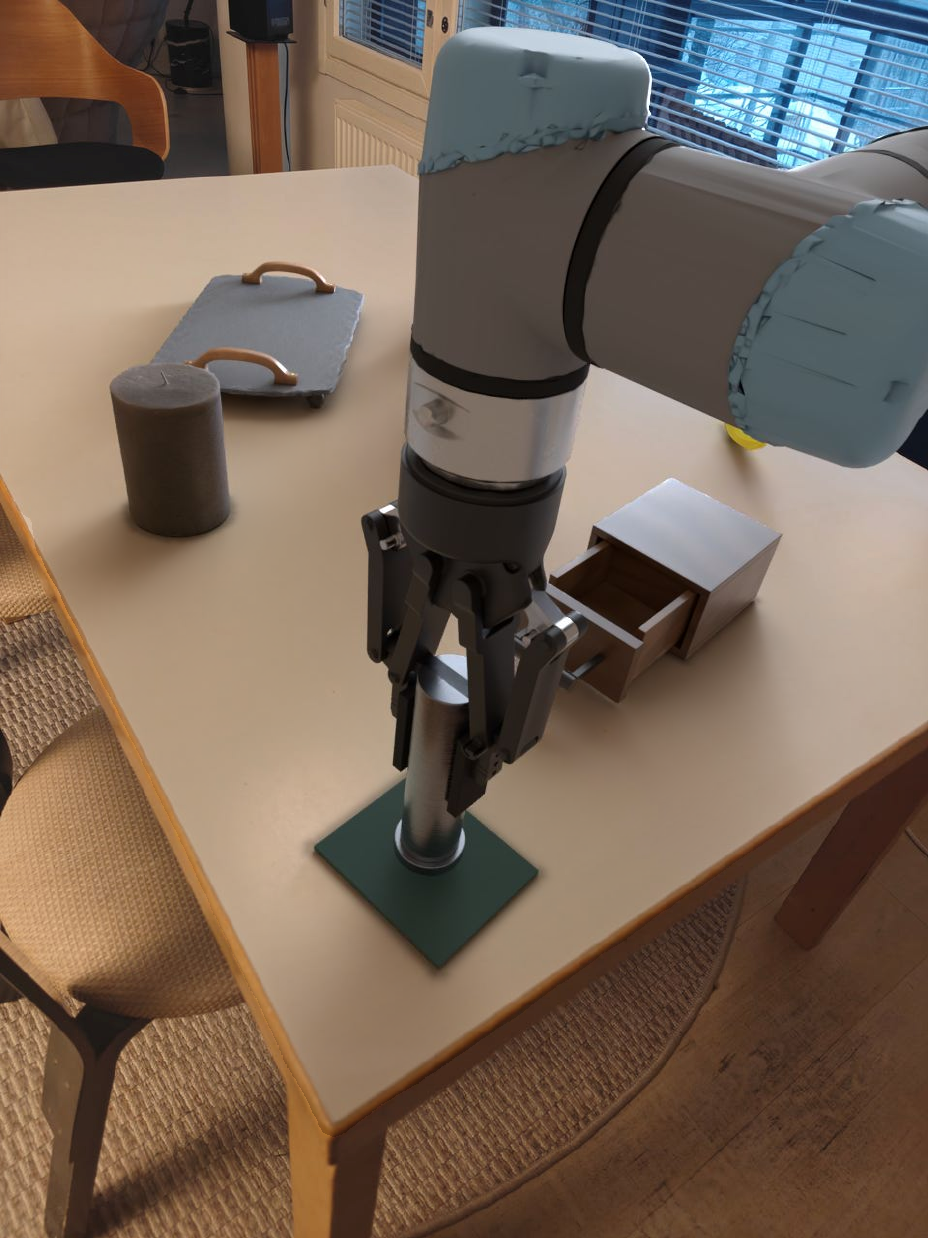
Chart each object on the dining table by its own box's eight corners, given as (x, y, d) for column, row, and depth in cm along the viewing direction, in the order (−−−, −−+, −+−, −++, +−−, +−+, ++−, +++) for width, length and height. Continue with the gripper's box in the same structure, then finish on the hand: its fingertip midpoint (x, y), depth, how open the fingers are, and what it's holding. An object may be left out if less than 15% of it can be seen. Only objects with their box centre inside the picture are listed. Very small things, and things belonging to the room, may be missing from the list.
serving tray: (219, 286, 132) (216, 244, 128) (369, 304, 133) (371, 263, 129) (138, 401, 103) (131, 351, 99) (332, 423, 104) (332, 375, 100)
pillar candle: (179, 549, 82) (160, 406, 73) (109, 511, 86) (82, 369, 76) (251, 507, 89) (242, 371, 79) (183, 473, 92) (167, 338, 83)
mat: (538, 873, 60) (539, 870, 59) (438, 970, 54) (439, 967, 53) (416, 772, 65) (417, 768, 65) (313, 849, 59) (313, 845, 59)
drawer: (581, 736, 69) (597, 680, 65) (476, 660, 74) (485, 604, 70) (694, 639, 79) (715, 586, 75) (596, 579, 85) (610, 526, 81)
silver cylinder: (490, 857, 58) (528, 692, 48) (441, 901, 55) (470, 735, 45) (417, 795, 61) (437, 627, 51) (367, 833, 58) (378, 664, 48)
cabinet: (684, 660, 78) (711, 592, 73) (575, 592, 84) (592, 524, 79) (754, 599, 86) (783, 534, 81) (651, 541, 92) (671, 476, 87)
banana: (740, 476, 105) (757, 429, 101) (711, 404, 120) (725, 361, 116) (763, 478, 105) (781, 432, 101) (732, 407, 120) (746, 364, 116)
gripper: (297, 397, 40) (302, 732, 55) (588, 573, 32) (501, 907, 47) (411, 358, 45) (388, 677, 60) (692, 505, 37) (582, 829, 52)
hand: (438, 778), depth 54 cm, fingers closed on silver cylinder, 4 cm apart
